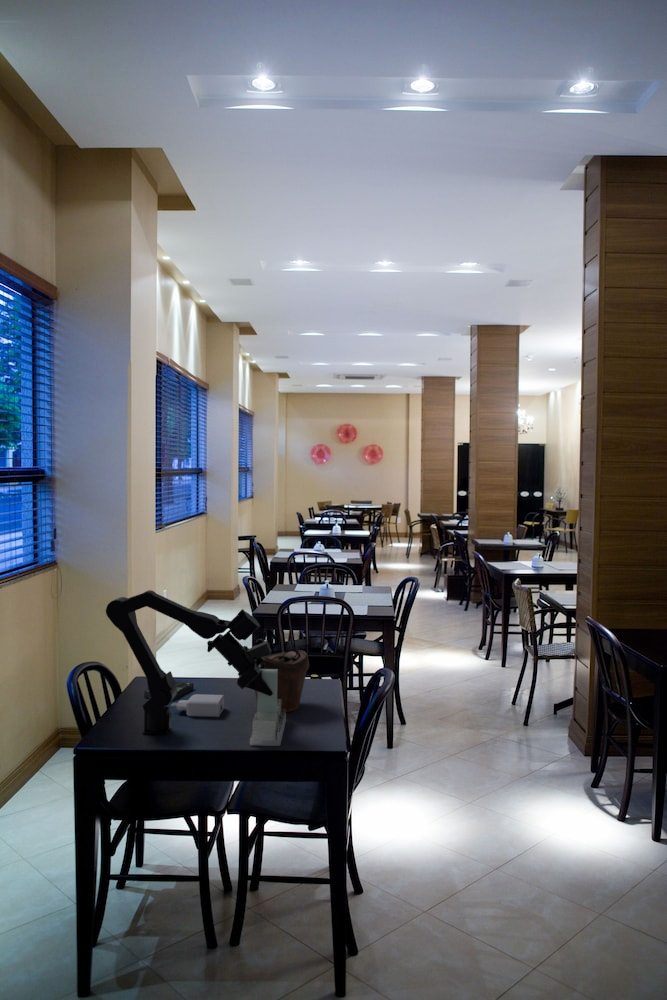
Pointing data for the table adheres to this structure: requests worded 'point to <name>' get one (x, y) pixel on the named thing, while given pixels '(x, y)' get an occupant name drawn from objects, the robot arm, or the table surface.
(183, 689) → the disk drive
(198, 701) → the charger
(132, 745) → the table surface
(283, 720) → the rail
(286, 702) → the brown flower pot
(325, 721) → the table surface
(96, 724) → the table surface
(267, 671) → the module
